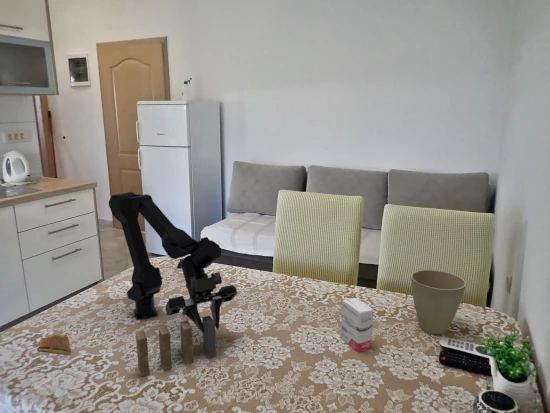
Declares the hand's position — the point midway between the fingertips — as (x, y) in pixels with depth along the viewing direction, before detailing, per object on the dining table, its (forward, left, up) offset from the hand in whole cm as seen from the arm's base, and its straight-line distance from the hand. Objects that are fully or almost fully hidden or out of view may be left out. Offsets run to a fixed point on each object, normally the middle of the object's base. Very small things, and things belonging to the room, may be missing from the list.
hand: (210, 330), depth 105 cm
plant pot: (+16, +64, -8) cm, 67 cm away
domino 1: (-1, -17, -8) cm, 19 cm away
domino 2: (-1, -12, -8) cm, 14 cm away
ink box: (+12, +38, -8) cm, 41 cm away
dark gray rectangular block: (-1, 0, -8) cm, 8 cm away
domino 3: (-1, -6, -8) cm, 10 cm away
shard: (-23, -35, -8) cm, 43 cm away
